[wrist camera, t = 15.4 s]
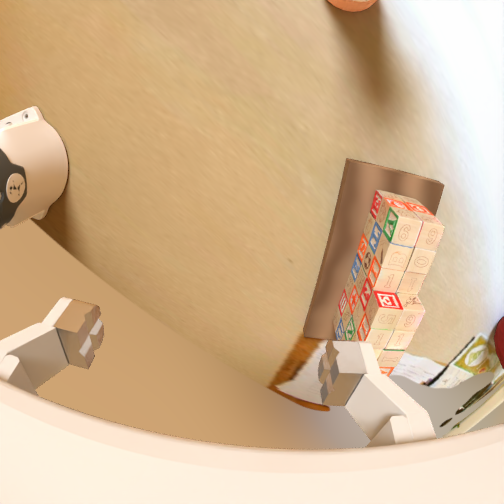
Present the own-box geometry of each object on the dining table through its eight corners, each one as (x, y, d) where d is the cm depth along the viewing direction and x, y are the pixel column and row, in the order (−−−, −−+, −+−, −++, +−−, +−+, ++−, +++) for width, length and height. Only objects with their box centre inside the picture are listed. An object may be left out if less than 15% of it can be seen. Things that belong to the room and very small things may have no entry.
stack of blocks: (374, 187, 37) (410, 227, 27) (416, 198, 37) (460, 239, 27) (331, 320, 48) (342, 381, 37) (368, 324, 48) (385, 383, 37)
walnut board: (303, 328, 51) (304, 336, 49) (346, 158, 38) (349, 161, 36) (379, 335, 51) (382, 343, 49) (438, 180, 38) (444, 185, 36)
